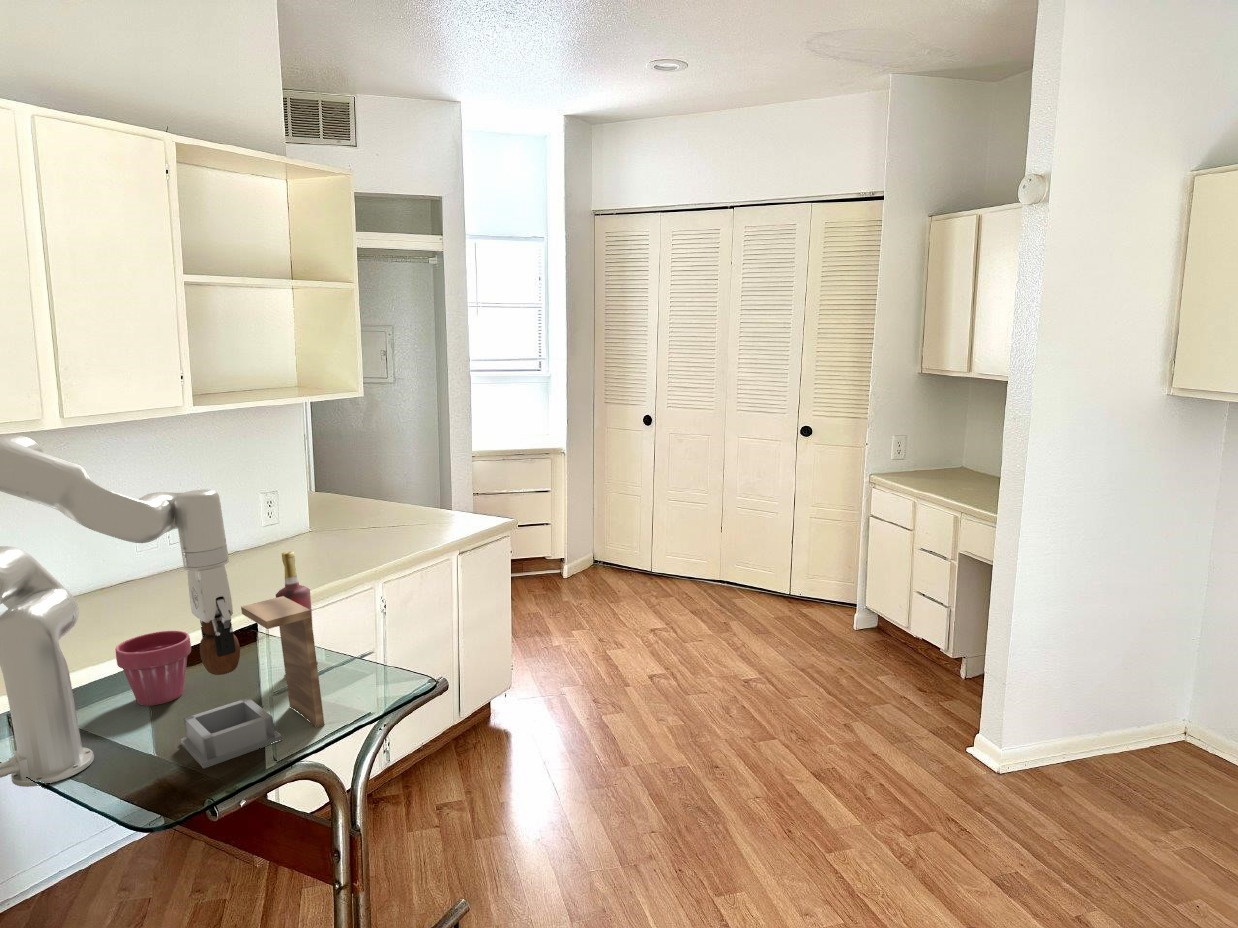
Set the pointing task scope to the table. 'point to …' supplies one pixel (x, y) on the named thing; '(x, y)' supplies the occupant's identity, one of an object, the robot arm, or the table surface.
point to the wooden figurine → (209, 652)
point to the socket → (228, 732)
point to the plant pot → (155, 665)
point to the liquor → (294, 584)
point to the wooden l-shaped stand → (294, 652)
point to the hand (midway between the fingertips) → (219, 648)
